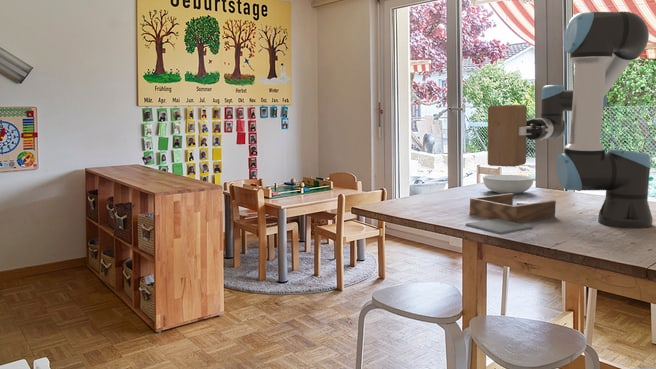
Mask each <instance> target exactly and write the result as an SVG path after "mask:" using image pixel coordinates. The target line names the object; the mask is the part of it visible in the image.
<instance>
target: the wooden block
mask: <svg viewBox="0 0 656 369" xmlns="http://www.w3.org/2000/svg"><path fill="white" fill-rule="evenodd" d="M527 113H528V107H527V105H525V104H504V105H503V104H502V105H501V104H500V105H490V106H488V107H487V126H488V134H487V165H488V166H490V167H510V168H511V167H513V168H515V167H517V166H518V167H519V166H522V165H525V164H526V163H527V138H526V135H519V127H527V120H528V119H527V117H528V116H527Z"/></svg>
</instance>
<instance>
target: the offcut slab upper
mask: <svg viewBox="0 0 656 369" xmlns="http://www.w3.org/2000/svg"><path fill="white" fill-rule="evenodd" d="M530 203H537V202H536V201H535V202H533V201H517V202H516V206H517V205H523V204H530Z"/></svg>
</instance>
